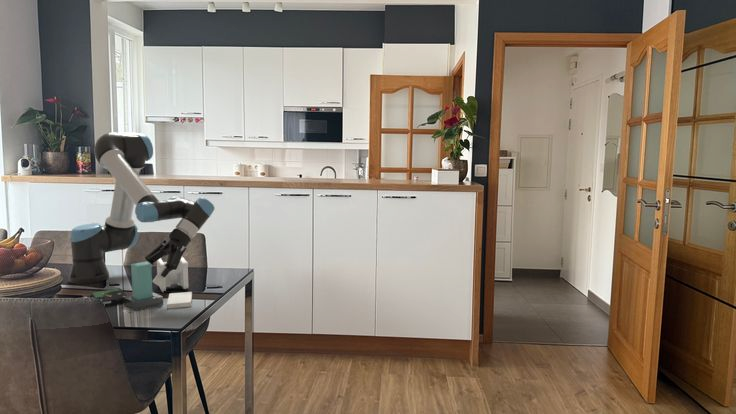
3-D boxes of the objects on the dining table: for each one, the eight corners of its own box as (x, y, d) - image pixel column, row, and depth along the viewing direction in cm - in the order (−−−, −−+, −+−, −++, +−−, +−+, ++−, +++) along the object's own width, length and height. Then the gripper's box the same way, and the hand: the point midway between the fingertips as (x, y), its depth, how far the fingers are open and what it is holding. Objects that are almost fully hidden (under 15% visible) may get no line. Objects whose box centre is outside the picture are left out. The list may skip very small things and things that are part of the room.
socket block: (123, 305, 187) (122, 296, 187) (150, 299, 194) (150, 291, 194) (135, 311, 180) (134, 302, 180) (163, 304, 188) (162, 296, 187)
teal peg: (133, 305, 187) (130, 264, 186) (147, 301, 191) (144, 261, 189) (139, 307, 184) (137, 266, 182) (153, 304, 188) (151, 263, 186)
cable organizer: (157, 285, 214) (155, 257, 213) (184, 281, 219) (182, 254, 218) (161, 294, 201) (160, 264, 200) (190, 290, 206) (188, 261, 204)
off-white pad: (169, 297, 197) (169, 293, 196) (192, 295, 199) (191, 291, 199) (167, 308, 183) (166, 304, 183) (191, 306, 186) (190, 302, 185)
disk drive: (129, 304, 190) (120, 294, 202) (128, 296, 190) (119, 287, 202) (97, 309, 184) (90, 299, 196) (97, 301, 184) (89, 291, 196)
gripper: (207, 243, 190) (170, 292, 181) (174, 235, 206) (138, 280, 197) (193, 231, 185) (154, 280, 176) (160, 224, 202) (123, 269, 193)
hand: (146, 280), depth 187 cm, fingers open, 13 cm apart
